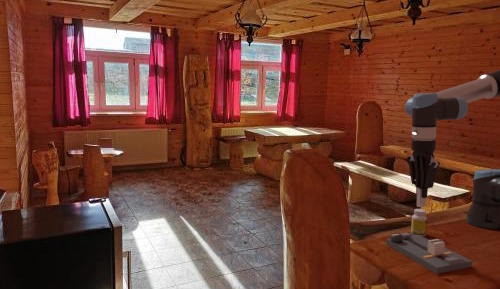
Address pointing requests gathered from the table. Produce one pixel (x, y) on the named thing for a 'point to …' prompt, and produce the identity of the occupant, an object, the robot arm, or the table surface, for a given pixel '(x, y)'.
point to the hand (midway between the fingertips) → (421, 206)
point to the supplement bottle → (419, 222)
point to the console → (427, 253)
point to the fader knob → (436, 246)
